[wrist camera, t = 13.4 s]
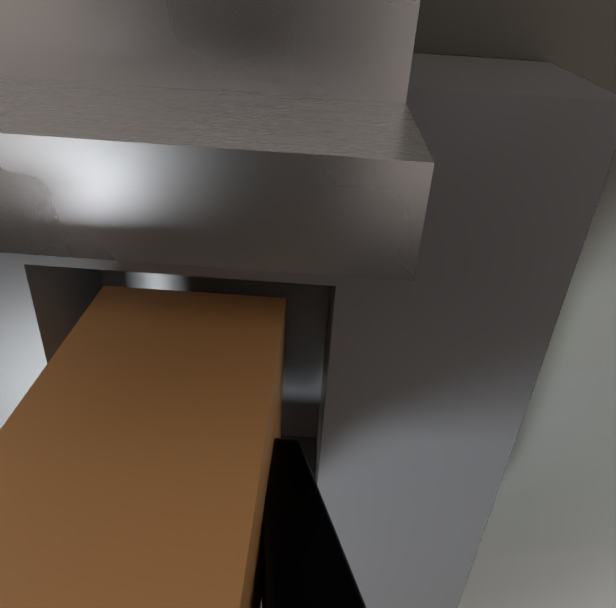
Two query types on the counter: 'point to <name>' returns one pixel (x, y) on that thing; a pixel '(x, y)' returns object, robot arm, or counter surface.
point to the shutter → (213, 134)
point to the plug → (145, 456)
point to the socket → (402, 321)
